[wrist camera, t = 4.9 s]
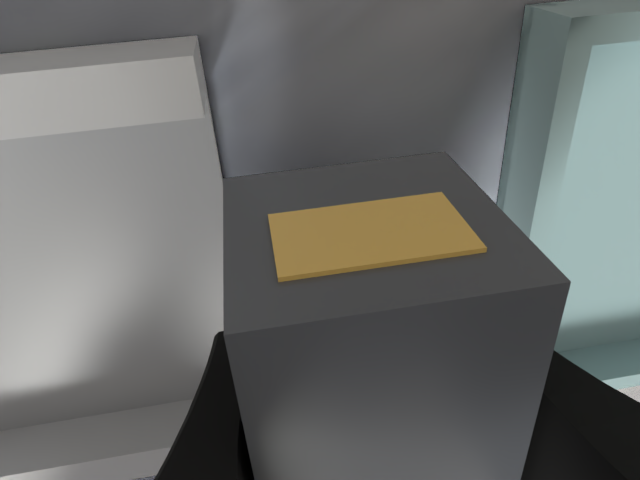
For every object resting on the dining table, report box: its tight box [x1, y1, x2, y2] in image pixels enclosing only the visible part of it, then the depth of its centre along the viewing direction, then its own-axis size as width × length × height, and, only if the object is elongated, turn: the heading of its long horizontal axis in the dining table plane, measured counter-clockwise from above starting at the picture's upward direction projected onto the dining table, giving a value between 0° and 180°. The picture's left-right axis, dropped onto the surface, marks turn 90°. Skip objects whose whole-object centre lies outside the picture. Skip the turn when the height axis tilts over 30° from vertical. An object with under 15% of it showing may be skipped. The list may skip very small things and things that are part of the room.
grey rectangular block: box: [223, 152, 571, 480], centre depth 10 cm, size 8×4×4 cm, turn 3°
